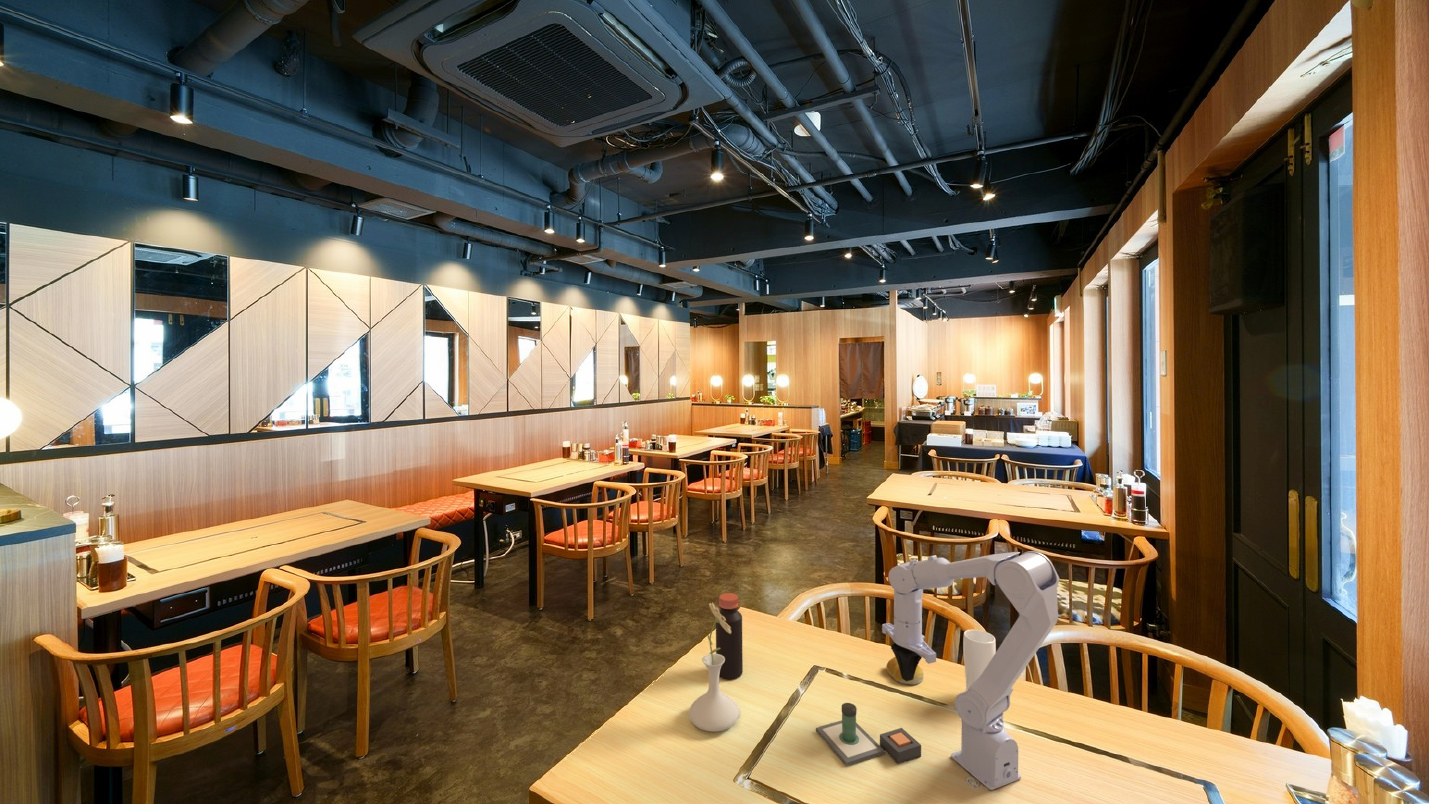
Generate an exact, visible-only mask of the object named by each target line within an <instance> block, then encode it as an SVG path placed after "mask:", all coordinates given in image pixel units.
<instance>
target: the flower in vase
mask: <svg viewBox="0 0 1429 804" xmlns="http://www.w3.org/2000/svg"><path fill="white" fill-rule="evenodd" d="M708 606H709V609H710V611H711V613H712V614H713V616H714V617H715V618H714V623H713V625H712V628H711V629H710V630H711V631H710V633H708V634H707V635H706V636H707V639H708V641H709V649H710V652H709V653H708V654H705V655H704V656H703V657H702V659H701V661H702V663H703V664H704V665H705V668H706V670H707V675H708V689H707V692H705V693H703V694H702V695H700V696H699V697H697V698H695V700H694V701H693V702H692V703H691V705H690V707H689V710H688V717H689V720H690V721H691V723H692V724H693V725H694V726H695V727H696V728H698V729H700V730H702V731H706V732H722V731H725V730H728V729H730V728H731V727H733V726H734V725H735V724H736V723H737V721H739V719H740V715H741V711H740V707H739V705H738V703H736V701H735V700H734V699H733V698H731V697H730V696H729V695H727V694H725V693H724V692H722V691H721V689H720V677H719V673H720V669H721V666H722V664H723V663H724V662H725V658H724V657H723V656H722V655H720V654H716V651H717V650H719V649H720V648H717V649H716V648H714V649H713V647H712V646H713V641H712V634H713V631H714V628H715V627H716V622H717V623H720V624H721V626H722V627H723V628H724V629H725V630H726V631H727V632H728V633H729V634H731V630H730V629H731V628H730V626H729V625H728V624H727V623H726V622H725V621H726V619H725V617H724V616H721V614H720V613H719V611H720V608H718V606H716V605H715V604H714V602H710V603H708Z"/></svg>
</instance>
